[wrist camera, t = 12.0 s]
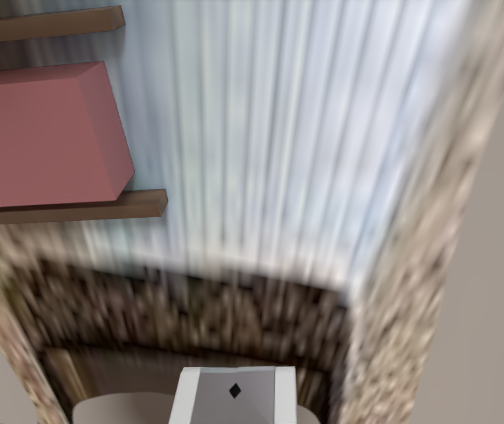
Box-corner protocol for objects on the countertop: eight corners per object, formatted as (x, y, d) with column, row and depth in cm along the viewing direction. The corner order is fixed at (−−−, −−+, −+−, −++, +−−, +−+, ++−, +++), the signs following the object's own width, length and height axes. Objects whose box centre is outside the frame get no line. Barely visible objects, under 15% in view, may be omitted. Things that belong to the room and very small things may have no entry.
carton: (-45, 74, 31) (-96, 93, 27) (105, 59, 30) (75, 77, 25) (5, 178, 36) (-32, 208, 32) (136, 170, 34) (115, 200, 30)
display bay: (-96, 28, 29) (-126, 34, 27) (120, 5, 27) (107, 9, 25) (-4, 209, 37) (-21, 225, 35) (168, 200, 36) (160, 216, 33)
